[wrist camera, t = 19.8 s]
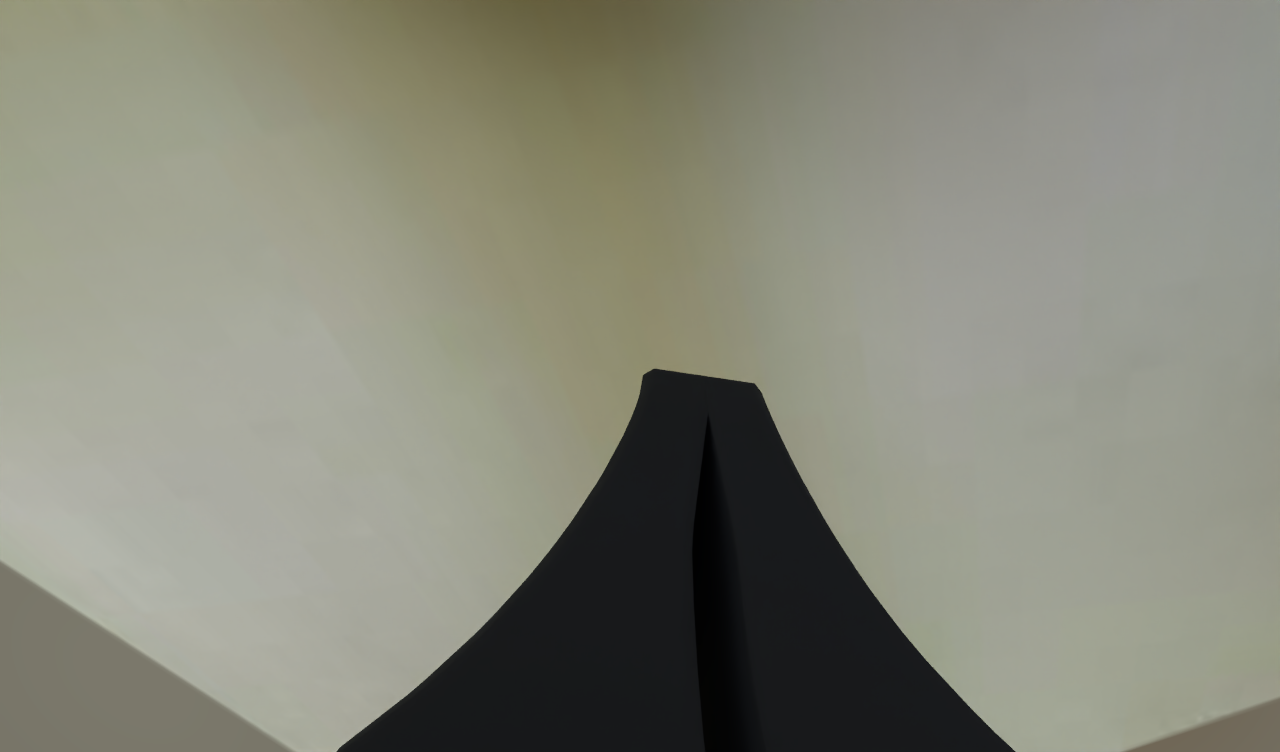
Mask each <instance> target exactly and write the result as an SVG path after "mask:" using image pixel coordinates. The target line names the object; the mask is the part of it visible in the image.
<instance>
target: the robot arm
mask: <svg viewBox="0 0 1280 752" xmlns="http://www.w3.org/2000/svg"><path fill="white" fill-rule="evenodd" d="M337 752H1015V751H1014V750H1013V749H1012V748H1011V747H1010V746H1009V745H1008V744H1007V743H1006V742H1004V741H1003V740H1002V739H1001V738H1000V737H999V736H998V735H997V734H996V733H995V732H994V731H993V730H992V729H991V728H990V727H989V726H988V725H987V724H986V723H985V722H984V721H983V720H982V719H981V718H980V717H979V716H978V715H977V714H976V713H975V712H974V711H973V710H972V709H971V708H970V707H969V706H968V705H967V704H966V703H965V702H964V701H963V700H962V698H961V697H960V696H959V695H958V694H957V693H956V692H955V691H954V690H953V689H952V688H951V687H950V686H949V684H948V683H947V682H946V681H945V680H944V679H943V678H942V677H941V676H940V675H939V674H938V673H937V672H936V670H935V669H934V668H933V667H932V666H931V665H930V664H929V663H928V662H927V661H926V660H925V659H924V657H923V656H922V655H921V654H920V653H919V651H918V650H917V649H916V648H915V647H914V645H913V644H912V643H911V642H910V641H909V639H908V638H907V637H906V636H905V635H904V633H903V632H902V631H901V630H900V628H899V627H898V626H897V625H896V623H895V622H894V621H893V619H892V618H891V617H890V615H889V614H888V613H887V612H886V610H885V609H884V608H883V606H882V605H881V604H880V602H879V601H878V600H877V598H876V597H875V596H874V594H873V593H872V591H871V590H870V589H869V587H868V586H867V584H866V583H865V581H864V580H863V579H862V577H861V576H860V574H859V573H858V571H857V570H856V568H855V567H854V565H853V564H852V562H851V561H850V559H849V558H848V556H847V555H846V553H845V551H844V550H843V548H842V547H841V545H840V544H839V542H838V541H837V539H836V538H835V536H834V534H833V533H832V531H831V529H830V528H829V526H828V524H827V523H826V521H825V519H824V518H823V516H822V514H821V512H820V511H819V509H818V507H817V505H816V504H815V502H814V500H813V498H812V496H811V495H810V493H809V491H808V489H807V487H806V486H805V484H804V482H803V480H802V479H801V477H800V475H799V473H798V471H797V469H796V467H795V465H794V463H793V461H792V459H791V457H790V455H789V453H788V451H787V449H786V447H785V445H784V443H783V441H782V439H781V437H780V434H779V432H778V430H777V428H776V426H775V424H774V421H773V419H772V417H771V415H770V412H769V410H768V408H767V405H766V403H765V400H764V398H763V395H762V393H761V391H760V390H759V389H758V387H757V386H756V385H755V383H748V382H741V381H734V380H728V379H721V378H714V377H707V376H701V375H694V374H687V373H680V372H673V371H667V370H660V369H653V370H651V371H649V372H647V373H646V374H644V375H643V379H642V385H641V390H640V395H639V399H638V402H637V405H636V407H635V410H634V412H633V415H632V417H631V420H630V422H629V424H628V426H627V428H626V431H625V433H624V435H623V437H622V439H621V441H620V443H619V445H618V446H617V448H616V450H615V452H614V454H613V456H612V457H611V459H610V461H609V463H608V465H607V467H606V468H605V470H604V472H603V474H602V475H601V477H600V479H599V480H598V482H597V484H596V485H595V487H594V488H593V490H592V491H591V493H590V494H589V496H588V497H587V499H586V500H585V502H584V503H583V505H582V506H581V508H580V509H579V511H578V512H577V514H576V515H575V517H574V518H573V520H572V521H571V523H570V524H569V526H568V527H567V528H566V530H565V531H564V532H563V534H562V535H561V537H560V538H559V539H558V541H557V542H556V543H555V545H554V546H553V547H552V548H551V550H550V551H549V552H548V554H547V555H546V556H545V557H544V558H543V560H542V561H541V562H540V563H539V565H538V566H537V567H536V568H535V569H534V571H533V572H532V573H531V574H530V576H529V577H528V578H527V579H526V580H525V581H524V582H523V583H522V585H521V586H520V587H519V588H518V589H517V590H516V591H515V592H514V593H513V595H512V596H511V597H510V598H509V599H508V600H507V601H506V602H505V603H504V604H503V606H502V607H501V608H500V609H499V610H498V611H497V612H496V613H495V614H494V615H493V616H492V617H491V618H490V619H489V620H488V622H487V623H486V624H485V625H484V626H483V627H482V628H481V629H480V630H479V631H478V632H477V633H476V634H475V635H474V636H472V637H471V638H470V639H469V640H468V641H467V642H466V643H465V644H464V645H463V646H462V647H461V648H459V649H458V650H457V651H456V652H455V653H454V654H453V655H452V656H451V657H450V658H449V659H447V660H446V661H445V662H444V663H443V664H442V665H441V666H440V667H439V668H438V669H437V670H435V671H434V672H433V673H432V674H431V675H430V676H429V677H428V678H427V679H426V680H425V681H423V682H422V683H421V684H420V685H419V686H418V687H416V688H415V689H414V690H413V691H412V692H410V693H409V694H408V695H407V696H406V697H404V698H403V699H402V700H400V701H399V702H398V703H397V704H395V705H394V706H393V707H391V708H390V709H389V710H388V711H386V712H385V713H384V714H382V715H381V716H380V717H379V718H377V719H376V720H375V721H373V722H372V723H371V724H370V725H368V726H367V727H366V728H364V729H363V730H362V731H361V732H359V733H358V734H357V735H355V736H354V737H353V738H352V739H350V740H349V741H348V742H346V743H345V744H344V745H342V746H341V747H340V748H339V749H338V751H337Z"/></svg>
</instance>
